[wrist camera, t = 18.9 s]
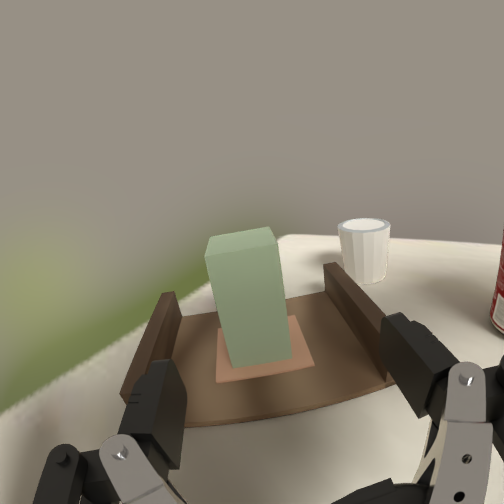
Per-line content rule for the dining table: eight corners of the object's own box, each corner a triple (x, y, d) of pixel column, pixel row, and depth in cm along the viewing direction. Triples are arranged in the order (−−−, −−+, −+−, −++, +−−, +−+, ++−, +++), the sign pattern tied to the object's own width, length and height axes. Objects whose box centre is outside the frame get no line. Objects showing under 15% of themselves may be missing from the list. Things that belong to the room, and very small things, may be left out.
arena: (337, 293, 33) (335, 262, 32) (401, 381, 18) (409, 342, 17) (171, 322, 33) (162, 293, 31) (141, 428, 17) (119, 393, 16)
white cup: (400, 274, 34) (401, 222, 32) (363, 292, 32) (362, 235, 30) (366, 260, 40) (364, 214, 38) (330, 274, 38) (326, 224, 36)
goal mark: (295, 316, 29) (294, 314, 29) (314, 365, 21) (314, 364, 21) (218, 330, 29) (218, 328, 29) (216, 383, 21) (215, 381, 21)
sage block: (283, 326, 27) (269, 226, 24) (292, 358, 22) (277, 243, 19) (232, 335, 27) (210, 236, 24) (232, 368, 22) (204, 256, 19)
